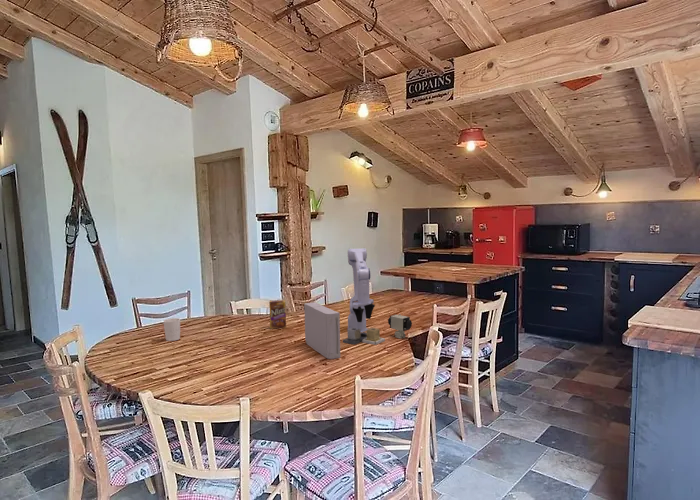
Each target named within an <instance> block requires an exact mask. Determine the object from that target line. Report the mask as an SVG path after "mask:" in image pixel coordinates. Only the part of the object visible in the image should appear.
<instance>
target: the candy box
mask: <svg viewBox="0 0 700 500" xmlns="http://www.w3.org/2000/svg"><path fill="white" fill-rule="evenodd" d="M286 302H287V300H286V299H282V300H281V299H279V300H269V329H270V330H273V329H276V328H277V329H287V316H286V315H287V311H286V310H287V307H286V306H287V305H286V304H287V303H286ZM277 329H276V330H277Z"/></svg>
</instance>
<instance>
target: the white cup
mask: <svg viewBox="0 0 700 500" xmlns="http://www.w3.org/2000/svg"><path fill="white" fill-rule="evenodd" d="M163 327H164V328H163V329H164V335H165V341H166V342H167V341H169V342H175V341H178V340H180V339H181V319H180V318H177V317H173V318H167V319H164V320H163Z"/></svg>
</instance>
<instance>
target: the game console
mask: <svg viewBox="0 0 700 500" xmlns="http://www.w3.org/2000/svg"><path fill="white" fill-rule="evenodd" d="M303 304H304V305H303V306H304V307H303V308H304V312H303V313H304V339H305V343H306V345H308V346H309V347H310V348H312V349H313V350H314V351H316V352H317V353H319V354H320V355H322V356H323V357H324V358H326V359H328V360H333V359H334V360H335V359H340V358H341V320H340V317H341V316H340V312H339V311H336V310H333V309H331V308H328V307H327V306H324V305H321V304H319V303H318V302H315V301H314V302H307V303H303Z"/></svg>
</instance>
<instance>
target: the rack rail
mask: <svg viewBox="0 0 700 500" xmlns="http://www.w3.org/2000/svg"><path fill="white" fill-rule="evenodd" d="M360 334H361V339H359V340H357V341H352V340H348V337H347V338H345V339H342V343H344V344H347V345H348V344H349V345H353V346H356V345H358V344H360V343H363V342H362V340H363V339H365V338H367V332H366V331H364V332H360Z"/></svg>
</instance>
